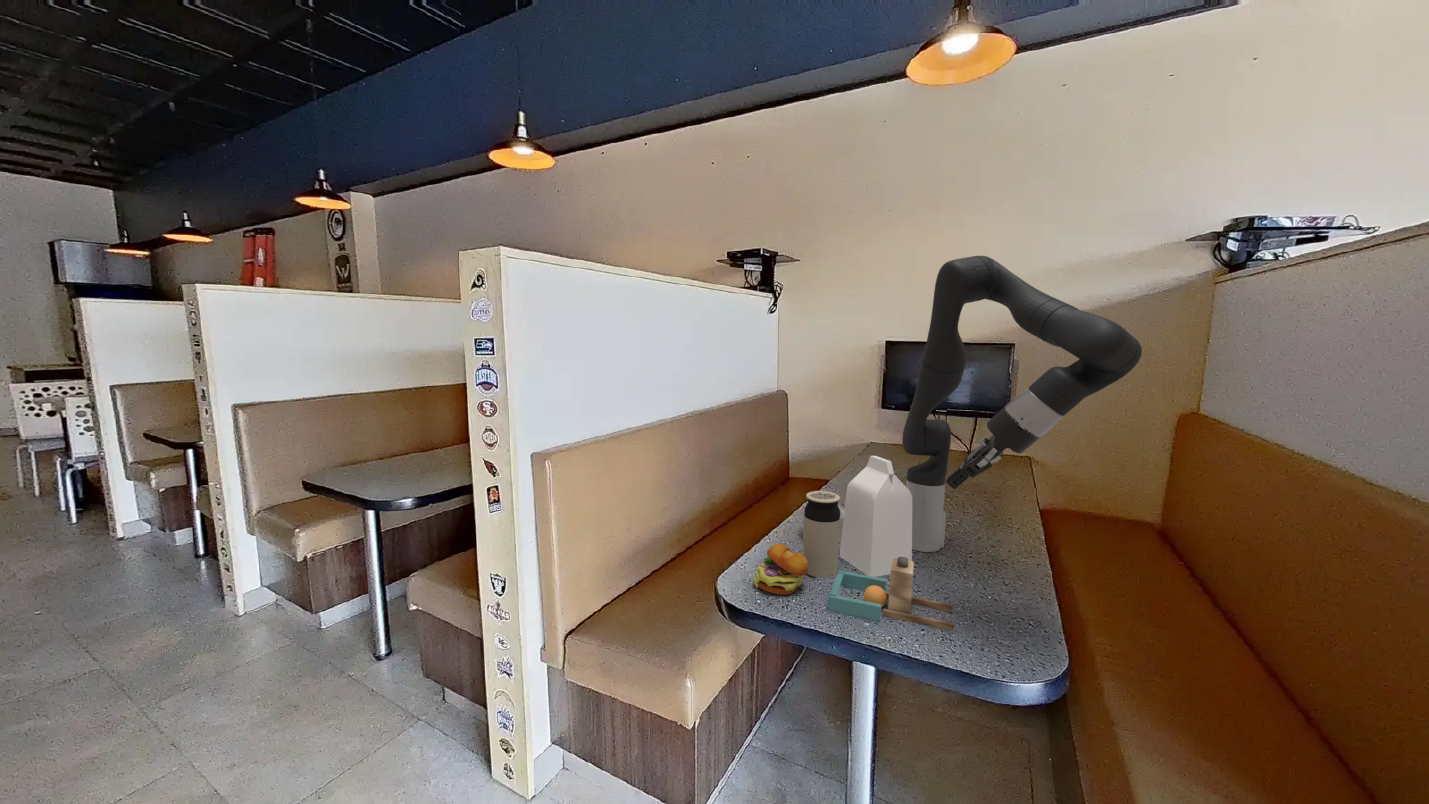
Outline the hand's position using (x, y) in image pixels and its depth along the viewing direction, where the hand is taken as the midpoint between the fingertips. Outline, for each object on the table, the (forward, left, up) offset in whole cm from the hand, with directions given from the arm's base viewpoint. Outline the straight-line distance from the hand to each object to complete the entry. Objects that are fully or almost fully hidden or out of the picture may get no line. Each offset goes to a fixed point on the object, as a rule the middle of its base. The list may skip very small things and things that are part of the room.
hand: (950, 484), depth 98 cm
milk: (-1, -23, -27) cm, 35 cm away
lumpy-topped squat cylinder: (+3, -41, -27) cm, 49 cm away
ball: (+10, -6, -24) cm, 27 cm away
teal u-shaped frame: (+13, -8, -26) cm, 30 cm away
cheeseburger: (+25, -20, -27) cm, 42 cm away
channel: (+4, -1, -26) cm, 26 cm away
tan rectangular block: (+7, -3, -26) cm, 27 cm away
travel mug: (+13, -24, -27) cm, 38 cm away
